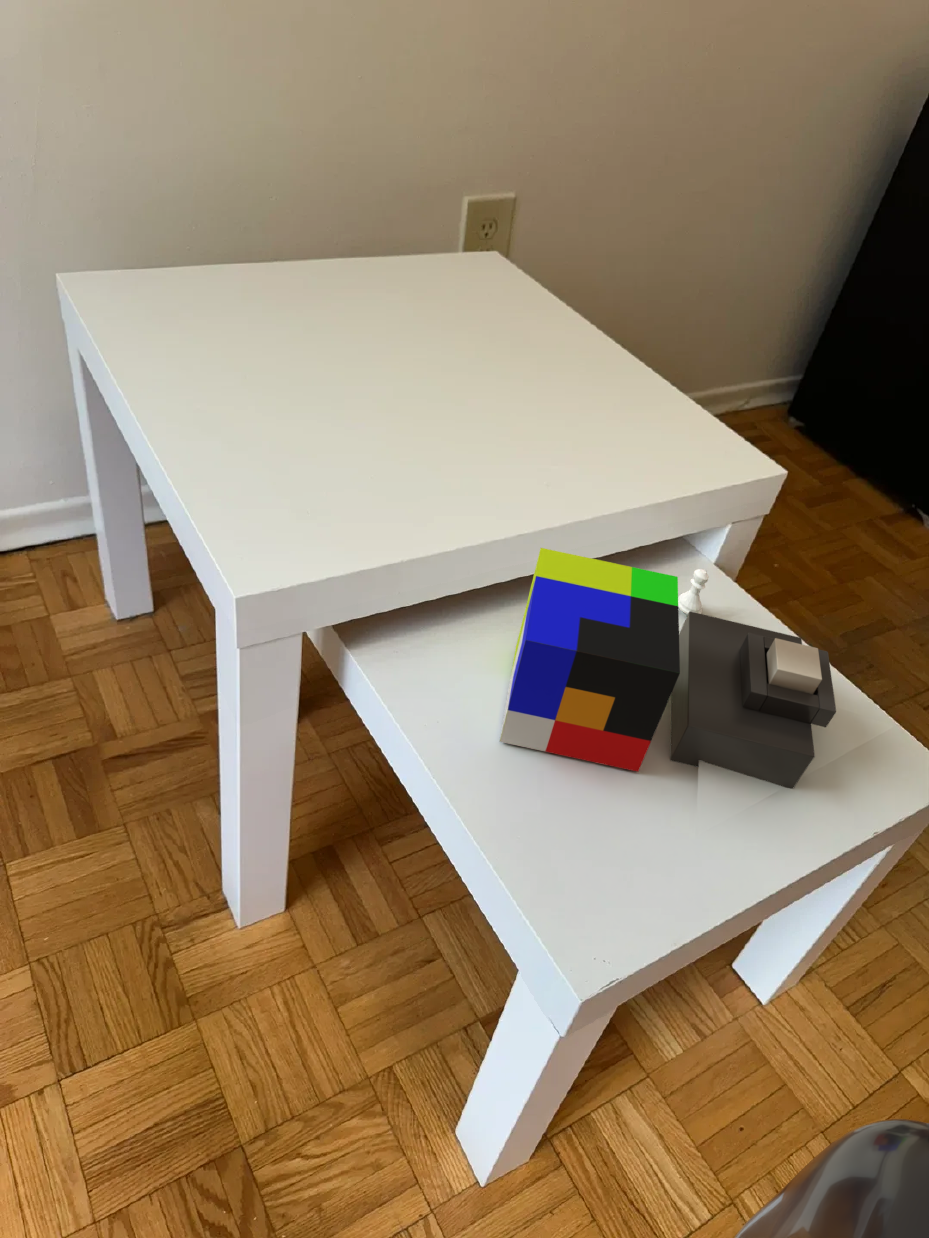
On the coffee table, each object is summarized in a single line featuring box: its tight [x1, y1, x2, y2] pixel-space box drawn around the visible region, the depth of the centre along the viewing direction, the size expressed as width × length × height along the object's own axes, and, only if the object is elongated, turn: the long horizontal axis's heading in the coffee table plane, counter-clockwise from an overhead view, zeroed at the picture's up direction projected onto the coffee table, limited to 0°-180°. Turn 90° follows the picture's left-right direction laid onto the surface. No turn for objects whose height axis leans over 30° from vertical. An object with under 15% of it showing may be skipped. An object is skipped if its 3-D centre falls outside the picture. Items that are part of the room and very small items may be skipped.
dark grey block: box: [669, 611, 837, 790], centre depth 70 cm, size 12×10×6 cm
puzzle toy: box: [499, 547, 680, 773], centre depth 66 cm, size 10×10×10 cm
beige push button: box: [766, 638, 822, 694], centre depth 67 cm, size 3×3×2 cm
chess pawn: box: [678, 568, 710, 615], centre depth 79 cm, size 3×2×4 cm
